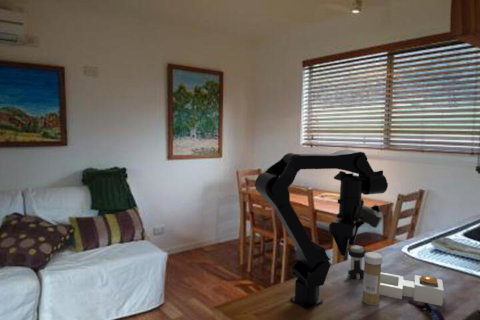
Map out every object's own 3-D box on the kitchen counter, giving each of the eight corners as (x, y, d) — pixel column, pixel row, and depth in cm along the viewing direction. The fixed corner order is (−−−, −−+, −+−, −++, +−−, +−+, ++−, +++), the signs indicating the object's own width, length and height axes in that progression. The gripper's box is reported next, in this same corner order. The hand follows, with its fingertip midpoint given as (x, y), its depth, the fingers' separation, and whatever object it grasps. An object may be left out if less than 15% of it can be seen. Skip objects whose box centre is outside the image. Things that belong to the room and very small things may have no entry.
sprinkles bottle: (382, 302, 102) (385, 255, 100) (374, 307, 99) (377, 259, 97) (366, 295, 105) (369, 250, 103) (358, 301, 102) (361, 254, 100)
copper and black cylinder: (419, 298, 104) (421, 279, 103) (419, 292, 107) (421, 274, 106) (435, 301, 102) (437, 282, 101) (435, 295, 106) (436, 276, 105)
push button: (350, 283, 112) (352, 252, 111) (339, 276, 117) (341, 245, 116) (367, 280, 115) (369, 249, 113) (356, 273, 120) (358, 243, 118)
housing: (368, 292, 107) (369, 277, 106) (371, 279, 115) (372, 266, 114) (442, 307, 99) (444, 291, 99) (440, 293, 107) (441, 278, 107)
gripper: (374, 207, 90) (370, 268, 92) (387, 193, 106) (383, 245, 108) (329, 201, 96) (326, 259, 98) (347, 188, 112) (344, 238, 114)
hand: (347, 250), depth 104 cm, fingers open, 9 cm apart
